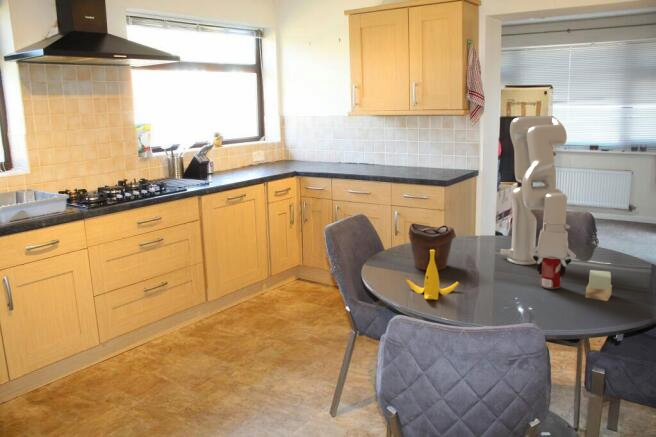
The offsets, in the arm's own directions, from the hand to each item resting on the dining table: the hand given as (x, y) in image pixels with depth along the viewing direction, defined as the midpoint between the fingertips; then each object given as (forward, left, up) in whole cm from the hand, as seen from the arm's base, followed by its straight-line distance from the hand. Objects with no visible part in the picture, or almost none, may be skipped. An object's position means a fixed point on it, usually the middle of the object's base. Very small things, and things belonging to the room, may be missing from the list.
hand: (551, 274), depth 215 cm
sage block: (+16, -4, -1) cm, 17 cm away
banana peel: (-37, -20, -5) cm, 42 cm away
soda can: (0, 0, -5) cm, 5 cm away
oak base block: (+16, -4, -5) cm, 17 cm away
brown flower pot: (-47, +10, -5) cm, 48 cm away
